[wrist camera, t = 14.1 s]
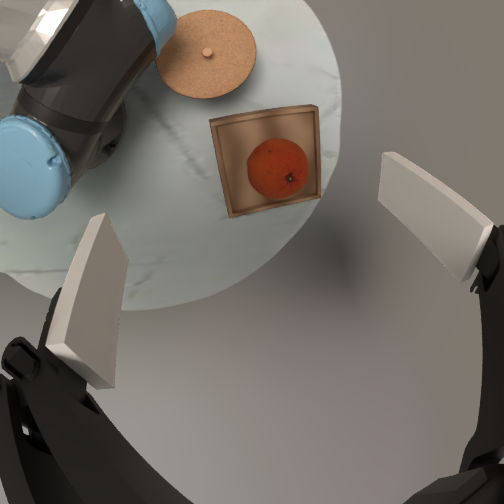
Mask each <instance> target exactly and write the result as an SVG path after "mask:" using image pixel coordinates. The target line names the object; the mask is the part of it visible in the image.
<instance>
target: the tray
mask: <svg viewBox="0 0 504 504" xmlns="http://www.w3.org/2000/svg"><path fill="white" fill-rule="evenodd" d="M209 123H210V128H211V133H212V138H213V143H214V148H215V153H216V158H217V163H218V168H219V173H220V177H221V182H222V187H223V192H224V197H225V201H226V206H227V211H228V214H229V217H230V218H232V217H237V216H241V215H245V214H249V213H254V212H258V211H262V210H267V209H271V208H276V207H280V206H285V205H289V204H294V203H298V202H303V201H308V200H313V199H317V198H321V159H320V129H319V110H318V107H317V106H315V105H312V104H309V105H298V106H289V107H280V108H272V109H265V110H258V111H252V112H246V113H240V114H235V115H229V116H224V117H219V118H215V119H210V120H209ZM268 139H287V140H290V141H292V142H294V143H296V144H297V145H298V146H300V147H301V148H302V150H303V151H304V152H305V154H306V156H307V159H308V163H309V174H308V180H307V182H306V184H305V185H304V186H303V188H302V189H300V190H299V191H298V192H296V193H295V194H293V195H290V196H288V197H286V198H282V199H270V198H267V197H265V196H263V195H261V194H260V193H258V192H257V191H256V190H255V189H254V188H253V187H252V185H251V184H250V182H249V179H248V172H247V160H248V158H249V156H250V155H251V153H252V152H253V150H254V149H255V148H256V147H257V146H259V145H260V144H261V143H263V142H264V141H266V140H268Z"/></svg>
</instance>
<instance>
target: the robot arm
mask: <svg viewBox="0 0 504 504" xmlns="http://www.w3.org/2000/svg"><path fill="white" fill-rule="evenodd" d="M176 26H177V18H176V15H175V12H174V10H173V9H172V7H171V6H170V4H169V3H168V2H167V0H0V62H4V63H5V64H6V65H7V68H8V71H9V74H10V77H11V79H12V81H13V82H16V83H21V84H23V85H22V88H21V90H20V92H19V94H18V96H17V99H16V101H15V103H14V106H13V108H12V111H11V113H10V115H9V116H8V117H5V118H4V119H2V120H1V121H0V207H1V208H2V209H3V210H4V211H6V212H7V213H9V214H11V215H12V216H15V217H17V218H20V219H26V220H34V219H36V218H42V217H45V216H47V215H48V214H50V213H51V212H52V211H53V210H54V209H55V208H56V207H57V206H58V205H59V204H60V203H62V202H63V201H64V199H65V198H66V197H67V195H68V193H69V191H70V189H71V188H72V187H73V185H74V184H75V183H76V181H77V180H78V179H79V178H80V176H81V175H82V174H83V173H84V171H85V170H87V169H91V168H94V167H96V166H98V165H100V164H102V163H103V162H104V161H106V160H107V159H108V158H109V157H110V156H111V155H112V154H113V153H114V151H115V150H116V149H117V147H118V146H119V144H120V142H121V141H122V138H123V136H124V133H125V128H126V111H125V107H124V104H123V100H124V98H125V97H126V95H127V94H128V92H129V91H130V90H131V88H132V87H133V85H134V84H135V83H136V81H137V80H138V79H139V77H140V76H141V75H142V73H143V72H144V71H145V69H146V68H147V67H148V66H149V64H150V63H151V62H152V61H153V60H155V59H156V58H157V57H158V56H159V54H160V51H161V49H162V48H163V47H164V45H165V44H166V43H167V42H168V40H169V39H170V38H171V37H172V36H173V34H174V33H175V30H176ZM378 201H380V203H382V204H383V205H384V206H385V207H386V208H387V209H388V210H389V211H390V212H391V213H393V214H394V215H395V216H396V217H397V218H398V219H399V220H400V221H401V222H402V223H403V224H404V225H405V226H406V227H407V228H408V229H410V231H411V232H412V233H413V234H414V235H415V236H416V237H417V238H418V239H419V240H420V241H421V242H422V243H423V244H424V245H425V246H426V247H427V248H428V249H429V250H430V251H431V252H432V253H433V254H434V255H435V256H436V257H437V258H438V260H440V262H441V263H442V264H443V265H444V266H445V267H446V268H447V269H448V271H449V272H450V273H451V274H452V275H453V276H454V277H455V279H456V280H457V281H458V282H459V283H462V282H464V281H466V280H468V279H469V278H470V277H471V275H472V273H473V271H474V269H475V267H477V269H478V270H479V273H478V275H477V277H476V279H475V280H474V283H473V284H472V286H471V288H470V292H473V290H474V288H475V286H478V288H477V290H476V291H475V293H476V294H479V299H480V309H481V322H482V342H483V343H482V345H483V364H482V387H481V399H480V408H479V416H478V424H477V428H476V432H475V434H474V435H473V437H472V438H471V439H470V441H469V442H468V444H467V446H466V448H465V451H464V454H463V458H462V463H461V466H460V470H459V473H458V474H456V475H453V476H449V477H445V478H439V479H437V480H436V481H434V482H433V483H431V484H430V485H428V486H427V487H425V488H424V489H422V490H421V491H419V492H417V493H415V494H414V495H413V496H412V497H410V498H409V499H408V500H407V501H406V502H405V503H403V504H504V464H499V462H500V461H501V459H502V458H503V457H504V225H500V226H499V228H497V227H496V226H495V225H494V223H493V222H492V221H490V220H489V219H488V218H487V217H486V216H485V215H483V214H482V213H481V212H480V211H479V210H477V209H476V208H475V207H474V206H473V205H471V204H470V203H469V202H468V201H466V200H465V199H464V198H462V197H461V196H460V195H458V194H457V193H456V192H454V191H453V190H452V189H450V188H449V187H448V186H446V185H445V184H443V183H442V182H440V181H439V180H438V179H436V178H435V177H433V176H432V175H430V174H429V173H427V172H426V171H424V170H423V169H421V168H420V167H418V166H417V165H415V164H414V163H412V162H410V161H409V160H407V159H405V158H404V157H402V156H400V155H399V154H397V153H395V152H384V153H382V165H381V176H380V186H379V194H378ZM128 261H129V260H128V258H127V256H126V254H125V252H124V250H123V248H122V246H121V244H120V242H119V240H118V238H117V235H116V233H115V231H114V229H113V227H112V225H111V223H110V220H109V218H108V216H107V214H106V213H103V214H100V215H97V216H94V217H91V220H90V222H89V224H88V226H87V228H86V230H85V232H84V235H83V237H82V239H81V241H80V244H79V246H78V248H77V251H76V253H75V255H74V258H73V260H72V263H71V265H70V268H69V271H68V273H67V276H66V279H65V281H64V284H63V287H61V288H59V289H58V291H57V292H56V294H55V295H54V297H53V298H52V301H51V304H50V307H49V312H48V313H47V316H46V321H45V323H44V326H43V330H42V333H41V337H40V341H39V345H38V349H35V348H34V347H33V346H32V345H31V344H30V343H29V342H28V341H27V340H26V339H25V338H24V337H17V338H15V339H13V340H12V341H11V342H10V343H9V344H8V345H7V347H6V348H5V351H4V353H3V356H2V361H1V365H2V369H4V370H5V371H6V372H7V373H8V374H9V375H11V376H12V377H13V379H11V380H9V379H8V378H6V377H5V376H4V375H3V374H0V478H1V482H2V485H3V488H4V491H5V494H6V497H7V500H8V503H9V504H193V503H192V502H191V501H189V500H188V499H187V498H186V497H184V496H183V495H182V494H181V493H180V492H179V491H178V490H176V489H175V488H174V487H173V486H172V485H171V484H169V483H168V482H167V481H166V480H165V479H164V478H163V477H162V476H161V475H160V474H159V473H158V472H157V471H155V470H154V469H153V468H152V467H151V466H150V465H149V464H148V463H147V462H146V461H145V460H144V459H143V458H142V456H140V454H139V453H138V452H137V451H136V450H135V449H134V448H133V447H132V446H131V445H130V443H129V442H128V441H127V440H126V439H125V438H124V437H123V436H122V434H121V433H120V432H119V431H118V430H117V429H116V427H115V426H114V425H113V423H112V422H111V421H110V420H109V418H108V417H107V416H106V415H105V413H104V412H103V411H102V409H101V408H100V407H99V405H98V404H97V403H96V401H95V400H94V398H93V397H92V396H91V395H90V394H89V393H88V392H87V391H86V385H87V383H89V384H90V385H91V386H93V387H94V388H95V389H109V388H114V387H115V366H116V352H117V351H116V350H117V340H118V329H119V320H120V312H121V304H122V297H123V290H124V284H125V278H126V272H127V266H128ZM22 426H24V427H26V428H27V429H28V431H29V435H26V434H24V433H23V429H22Z"/></svg>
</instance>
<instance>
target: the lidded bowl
mask: <svg viewBox="0 0 504 504" xmlns="http://www.w3.org/2000/svg"><path fill="white" fill-rule="evenodd" d="M255 59H256V44H255V40H254V37H253V35H252V33H251V31H250V30H249V29H248V27H247V26H246V25H245V24H244V23H243V22H242V21H241V20H239V19H238V18H236V17H235V16H233V15H230V14H228V13H225V12H222V11H216V10H202V11H196V12H192V13H189V14H186V15H184V16H182V17H180V18H179V19H177V26H176V30H175V33H174V34H173V36H172V37H171V38H170V39H169V40H168V42H167V43H166V44H165V45H164V47H163V48H162V49H161V51H160V54H159V56H158V57H157V58H156V59H155V62H156V67H157V70H158V73H159V75H160V77H161V78H162V80H163V81H164V82H165V83H166V85H167V86H169V87H170V88H171V89H172V90H174V91H176V92H177V93H179V94H181V95H184V96H187V97H191V98H198V99H209V98H215V97H219V96H222V95H225V94H227V93H229V92H231V91H232V90H234V89H236V88H237V87H238V86H239V85H241V84H242V83H243V82H244V81H245V80H246V78H247V77H248V76H249V74H250V73H251V71H252V69H253V66H254V63H255Z"/></svg>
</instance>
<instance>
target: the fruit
mask: <svg viewBox="0 0 504 504" xmlns="http://www.w3.org/2000/svg"><path fill="white" fill-rule="evenodd" d="M247 172H248V179H249V182H250V184H251V185H252V187H253V188H254V189H255V190H256V191H257V192H258V193H260V194H261V195H263V196H265V197H267V198H270V199H282V198H286V197H288V196H290V195H293V194H295V193H296V192H298V191H299V190H300V189H302V188H303V186H304V185H305V184H306V182H307V180H308V174H309V163H308V159H307V156H306V154H305V152H304V151H303V150H302V148H301V147H300V146H298V145H297V144H296V143H294V142H292V141H290V140H287V139H268V140H266V141H264V142H263V143H261V144H260V145H259V146H257V147H256V148H255V149H254V150H253V152H252V153H251V155H250V156H249V158H248V160H247Z"/></svg>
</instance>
